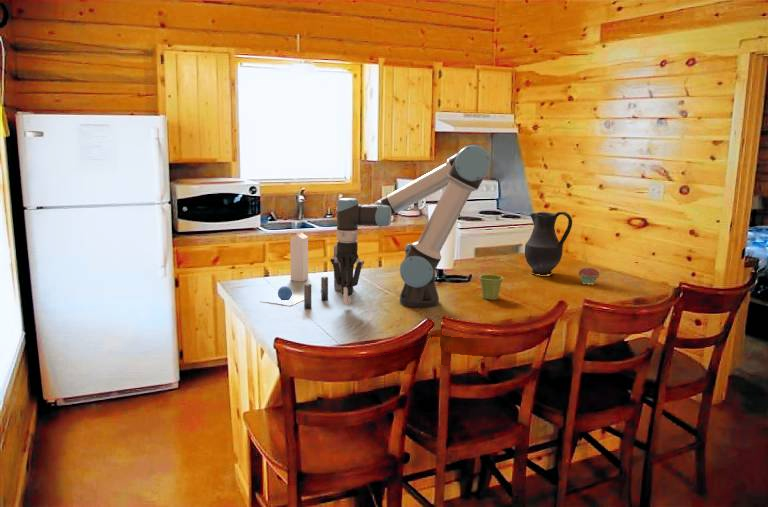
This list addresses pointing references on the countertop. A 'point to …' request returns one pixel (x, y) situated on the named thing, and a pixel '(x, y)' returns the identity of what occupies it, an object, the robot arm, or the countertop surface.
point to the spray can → (336, 286)
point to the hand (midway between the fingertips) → (347, 303)
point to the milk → (299, 256)
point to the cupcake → (588, 274)
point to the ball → (284, 293)
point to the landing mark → (297, 299)
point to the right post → (324, 288)
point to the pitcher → (545, 243)
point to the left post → (307, 296)
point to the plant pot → (490, 286)
